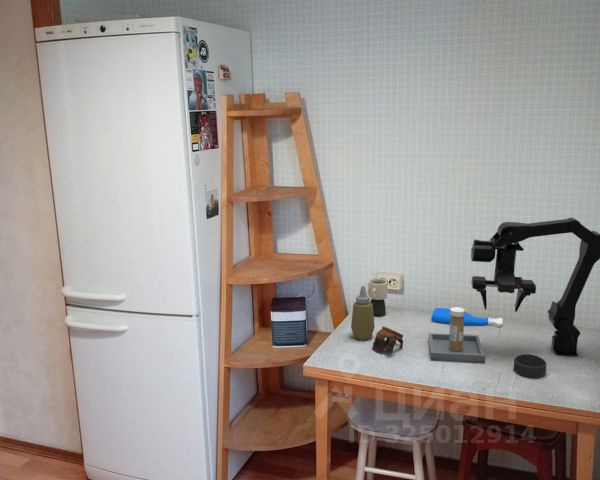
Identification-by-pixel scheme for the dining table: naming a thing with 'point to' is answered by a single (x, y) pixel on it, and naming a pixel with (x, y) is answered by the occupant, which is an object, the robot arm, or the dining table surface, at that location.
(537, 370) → the smart speaker
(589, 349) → the dining table surface
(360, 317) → the squeeze bottle
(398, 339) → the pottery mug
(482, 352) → the tray
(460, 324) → the sprinkles bottle
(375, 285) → the character mug
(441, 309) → the spray bottle
